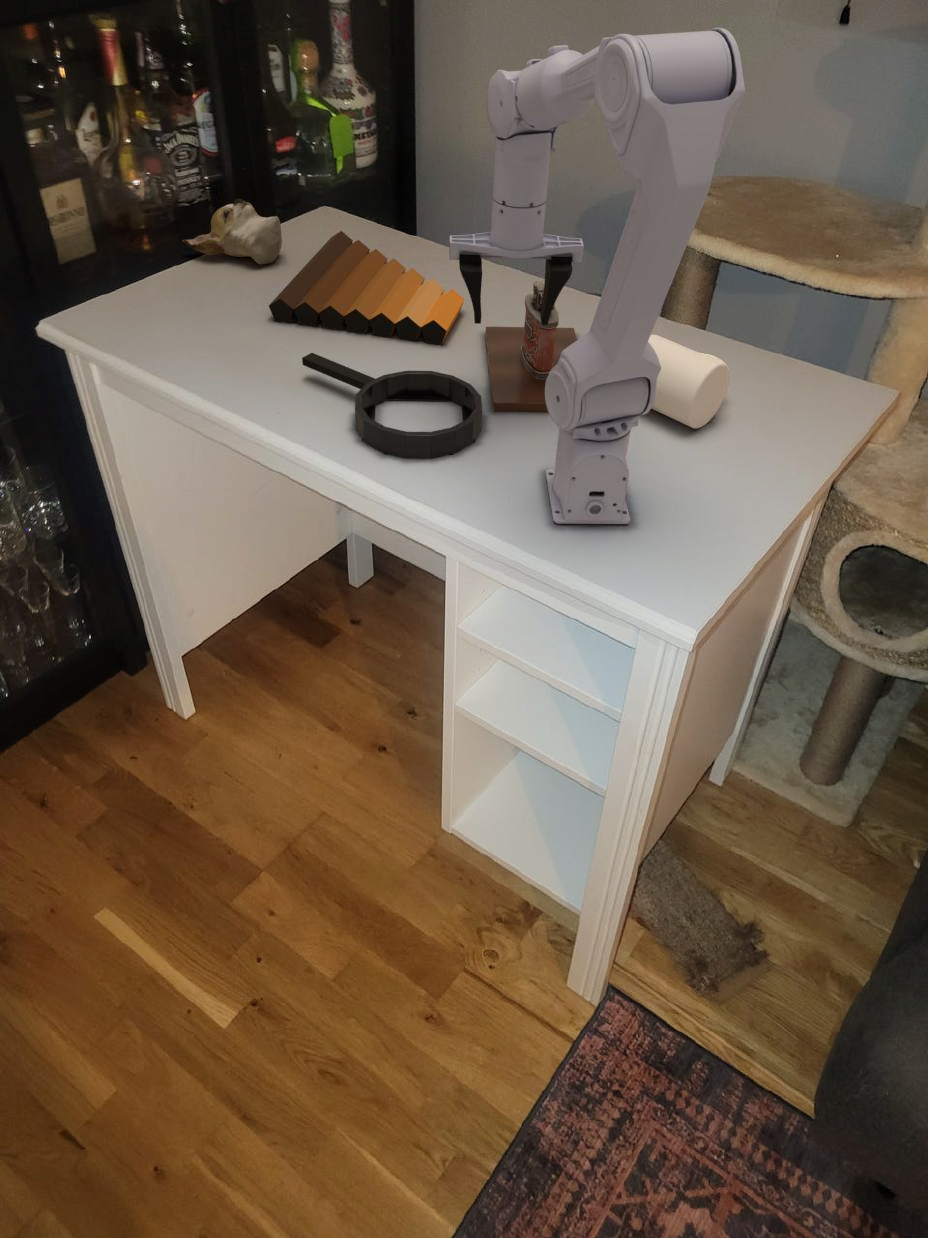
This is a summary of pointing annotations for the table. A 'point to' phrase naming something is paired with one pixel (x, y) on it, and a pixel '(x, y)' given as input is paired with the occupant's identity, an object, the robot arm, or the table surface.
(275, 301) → the pan flute
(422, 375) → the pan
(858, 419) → the table surface
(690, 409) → the mug
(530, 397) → the board
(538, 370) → the lighter
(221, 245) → the ceramic sculpture
